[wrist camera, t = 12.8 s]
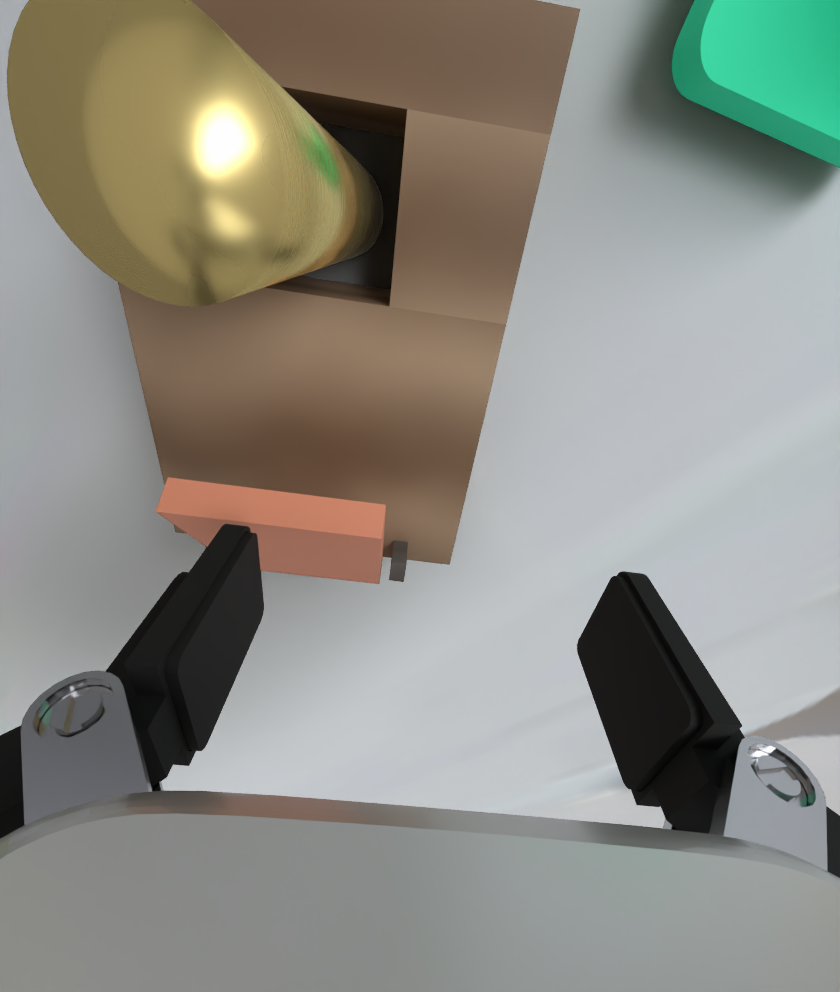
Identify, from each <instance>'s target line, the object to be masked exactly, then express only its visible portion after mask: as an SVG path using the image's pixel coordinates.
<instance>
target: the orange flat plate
mask: <svg viewBox="0 0 840 992" xmlns="http://www.w3.org/2000/svg"><path fill="white" fill-rule="evenodd" d="M156 512H157V513H159V514H160V515H161V516H163V517H164V518H166V519H167V520H169V521H170V522H172V523H173V524H174V525H176V526H177V527H179V528H180V529H182V530H183V531H185V532H186V533H188V534H189V535H190V536H192V537H193V538H195V539H196V540H198V541H199V542H201V543H202V544H203V545H205V546H206V547H208V545H209V544H210V542H211V541H212V540H213V538H214V537H215V535H216V534H217V532H218V531H219V530H220V528H221V527H222V526H223V525H224V524H233V525H241V526H248V527H249V528H250V530H251V533H256V534H257V537H258V548H259V559H260V570H261V571H270V572H279V573H287V574H296V575H305V576H313V577H322V578H331V579H339V580H348V581H357V582H366V583H374V584H379V581H380V574H381V566H382V557H383V542H384V527H385V513H386V505H384V504H376V503H368V502H360V501H352V500H344V499H336V498H328V497H320V496H312V495H304V494H296V493H288V492H280V491H273V490H265V489H257V488H249V487H241V486H233V485H225V484H217V483H209V482H201V481H193V480H185V479H177V478H169V477H168V479H167V481H166V484H165V487H164V490H163V492H162V495H161V498H160V501H159V503H158V506H157V509H156Z"/></svg>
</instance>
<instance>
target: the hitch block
mask: <svg viewBox="0 0 840 992" xmlns="http://www.w3.org/2000/svg"><path fill="white" fill-rule="evenodd" d="M190 1H192V2H193V3H194V4H195V5H196V6H198V7H199V8H200V9H201V10H202V11H204V12H205V13H206V14H207V15H208V16H209V17H210V18H211V19H212V20H213V21H214V22H215V23H216V24H217V25H218V26H219V27H220V28H221V29H222V30H223V31H224V32H225V33H226V34H227V35H228V36H229V37H230V38H231V39H232V40H233V41H234V42H235V43H237V44H238V45H239V46H240V47H241V48H242V49H243V50H244V51H245V52H246V53H247V54H248V55H249V56H250V57H251V58H252V59H253V60H254V61H255V62H256V63H257V64H258V65H259V66H260V67H261V68H262V69H263V70H264V71H265V72H266V73H267V74H268V75H269V76H271V77H272V78H273V79H274V80H275V81H276V82H277V83H278V84H279V85H280V86H281V87H282V88H283V89H284V90H285V91H286V92H287V93H288V94H289V95H290V96H291V97H292V98H293V99H294V100H295V101H296V102H297V103H298V104H299V105H300V106H301V107H302V108H304V109H305V110H306V111H307V112H308V113H309V114H310V115H311V116H312V117H313V118H314V119H315V120H316V121H317V122H319V123H325V124H330V125H336V126H342V127H347V128H353V129H359V130H364V131H370V132H376V133H381V134H387V135H393V136H398V137H404V138H405V140H404V151H403V162H402V173H401V184H400V195H399V206H398V217H397V229H396V240H395V251H394V262H393V273H392V284H391V290H388V289H382V288H375V287H369V286H362V285H356V284H350V283H343V282H337V281H330V280H324V279H317V278H311V277H304V276H297V277H294V278H291V279H288V280H285V281H282V282H279V283H276V284H273V285H270V286H267V287H264V288H261V289H258V290H255V291H252V292H249V293H246V294H243V295H240V296H237V297H234V298H232V299H229V300H226V301H223V302H220V303H215V304H211V305H206V306H192V307H191V306H178V305H173V304H168V303H163V302H160V301H157V300H154V299H151V298H148V297H145V296H143V295H141V294H139V293H137V292H135V291H133V290H131V289H129V288H127V287H126V286H124V285H123V284H121V283H119V282H118V284H119V289H120V293H121V297H122V302H123V306H124V310H125V315H126V319H127V323H128V328H129V332H130V337H131V341H132V345H133V350H134V354H135V358H136V363H137V367H138V371H139V376H140V380H141V384H142V389H143V393H144V397H145V402H146V406H147V410H148V415H149V419H150V423H151V428H152V432H153V437H154V441H155V445H156V450H157V454H158V458H159V463H160V467H161V471H162V476H163V480H164V484H166V481H167V479H168V477H169V478H177V479H185V480H193V481H201V482H209V483H217V484H225V485H233V486H241V487H249V488H257V489H265V490H273V491H280V492H288V493H296V494H304V495H312V496H320V497H328V498H336V499H344V500H352V501H360V502H368V503H376V504H384V505H386V513H385V527H384V542H383V557H390V558H392V560H391V569H390V577H389V580H393V581H401V582H404V575H405V569H406V561H407V560H415V561H423V562H432V563H440V564H450V560H451V556H452V552H453V547H454V543H455V539H456V535H457V530H458V526H459V522H460V518H461V513H462V509H463V505H464V501H465V496H466V492H467V488H468V484H469V479H470V475H471V471H472V467H473V462H474V458H475V454H476V450H477V445H478V441H479V437H480V433H481V428H482V424H483V420H484V416H485V411H486V407H487V403H488V399H489V394H490V390H491V386H492V382H493V377H494V373H495V369H496V365H497V360H498V356H499V352H500V348H501V343H502V339H503V335H504V331H505V326H506V322H507V318H508V314H509V309H510V305H511V301H512V297H513V292H514V288H515V284H516V280H517V275H518V271H519V267H520V263H521V258H522V254H523V250H524V246H525V241H526V237H527V233H528V229H529V224H530V220H531V216H532V212H533V207H534V203H535V199H536V195H537V190H538V186H539V182H540V178H541V173H542V169H543V165H544V161H545V156H546V152H547V148H548V144H549V139H550V135H551V131H552V127H553V122H554V118H555V114H556V110H557V105H558V101H559V97H560V93H561V88H562V84H563V80H564V76H565V71H566V67H567V63H568V59H569V54H570V50H571V46H572V42H573V37H574V33H575V29H576V25H577V20H578V16H579V12H580V9H577V8H572V7H567V6H562V5H557V4H552V3H547V2H542V1H537V0H190ZM174 528H175V532H179V533H186V532H185V531H183V530H182V529H180V528H179V527H177V526H176V525H174ZM206 548H207V547H206Z"/></svg>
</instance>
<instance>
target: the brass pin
mask: <svg viewBox="0 0 840 992" xmlns="http://www.w3.org/2000/svg"><path fill="white" fill-rule="evenodd" d="M7 87H8V101H9V108H10V115H11V120H12V124H13V128H14V132H15V136H16V140H17V144H18V146H19V149H20V152H21V155H22V158H23V161H24V164H25V166H26V168H27V170H28V173H29V175H30V177H31V179H32V181H33V184H34V186H35V187H36V189H37V191H38V193H39V195H40V197H41V198H42V200H43V202H44V204H45V205H46V207H47V208H48V210H49V211H50V213H51V214H52V216H53V217H54V219H55V220H56V222H57V223H58V225H59V226H60V227H61V228H62V230H63V231H64V232H65V233H66V235H67V236H68V237H69V238H70V240H71V241H72V242H73V243H74V244H75V245H76V246H77V247H78V248H79V249H80V250H81V252H82V253H83V254H84V255H85V256H86V257H87V258H89V259H90V260H91V261H92V262H93V263H94V264H95V265H96V266H98V267H99V268H100V269H101V270H102V271H104V272H105V273H106V274H108V275H109V276H110V277H112V278H113V279H114V280H116V281H118V282H119V283H121V284H123V285H124V286H126V287H127V288H129V289H131V290H133V291H135V292H137V293H139V294H141V295H143V296H145V297H148V298H151V299H154V300H157V301H160V302H163V303H168V304H173V305H178V306H191V307H192V306H206V305H211V304H215V303H220V302H223V301H226V300H229V299H232V298H234V297H237V296H240V295H243V294H246V293H249V292H252V291H255V290H258V289H261V288H264V287H267V286H270V285H273V284H276V283H279V282H282V281H285V280H288V279H291V278H294V277H297V276H300V275H303V274H306V273H309V272H312V271H315V270H318V269H321V268H324V267H327V266H330V265H333V264H336V263H339V262H342V261H345V260H348V259H351V258H354V257H356V256H359V255H361V254H363V253H365V252H366V251H367V250H368V249H370V248H371V246H372V245H373V244H374V243H375V241H376V240H377V238H378V236H379V234H380V231H381V228H382V224H383V213H384V210H383V201H382V197H381V193H380V190H379V188H378V186H377V184H376V182H375V180H374V178H373V177H372V176H371V174H370V173H369V172H368V171H367V170H366V169H365V168H364V167H363V166H362V165H361V164H360V163H359V162H358V161H357V160H356V159H355V158H354V157H353V156H352V155H351V154H350V153H349V152H348V151H347V150H346V149H345V148H344V147H343V146H342V145H341V144H340V143H339V142H338V141H336V140H335V139H334V138H333V137H332V136H331V135H330V134H329V133H328V132H327V131H326V130H325V129H324V128H323V127H322V126H321V125H320V124H319V123H318V122H317V121H316V120H315V119H314V118H313V117H312V116H311V115H310V114H309V113H308V112H307V111H306V110H305V109H304V108H302V107H301V106H300V105H299V104H298V103H297V102H296V101H295V100H294V99H293V98H292V97H291V96H290V95H289V94H288V93H287V92H286V91H285V90H284V89H283V88H282V87H281V86H280V85H279V84H278V83H277V82H276V81H275V80H274V79H273V78H272V77H271V76H269V75H268V74H267V73H266V72H265V71H264V70H263V69H262V68H261V67H260V66H259V65H258V64H257V63H256V62H255V61H254V60H253V59H252V58H251V57H250V56H249V55H248V54H247V53H246V52H245V51H244V50H243V49H242V48H241V47H240V46H239V45H238V44H237V43H235V42H234V41H233V40H232V39H231V38H230V37H229V36H228V35H227V34H226V33H225V32H224V31H223V30H222V29H221V28H220V27H219V26H218V25H217V24H216V23H215V22H214V21H213V20H212V19H211V18H210V17H209V16H208V15H207V14H206V13H205V12H204V11H202V10H201V9H200V8H199V7H198V6H196V5H195V4H194V3H193V2H192V1H190V0H29V1H28V3H27V4H26V6H25V7H24V9H23V10H22V12H21V14H20V17H19V19H18V22H17V24H16V26H15V29H14V32H13V36H12V41H11V45H10V49H9V57H8V68H7Z"/></svg>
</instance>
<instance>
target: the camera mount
mask: <svg viewBox="0 0 840 992" xmlns="http://www.w3.org/2000/svg"><path fill="white" fill-rule="evenodd" d="M672 75H673V80H674V83H675V86H676V88H677V90H678V91H679V92H680V94H681V95H682V96H684V97H685V98H687V99H688V100H691V101H693V102H695V103H697V104H700V105H702V106H704V107H706V108H708V109H711V110H713V111H715V112H717V113H720V114H722V115H724V116H726V117H728V118H731V119H733V120H735V121H737V122H740V123H742V124H744V125H746V126H748V127H751V128H753V129H755V130H757V131H760V132H762V133H764V134H766V135H768V136H771V137H773V138H775V139H777V140H780V141H782V142H784V143H786V144H788V145H791V146H793V147H795V148H797V149H800V150H802V151H804V152H806V153H808V154H811V155H813V156H815V157H817V158H820V159H822V160H824V161H826V162H828V163H831V164H833V165H835V166H837V167H840V0H694V2H693V5H692V7H691V9H690V11H689V13H688V16H687V18H686V20H685V22H684V25H683V27H682V29H681V31H680V34H679V36H678V39H677V41H676V44H675V48H674V52H673V57H672Z"/></svg>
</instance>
